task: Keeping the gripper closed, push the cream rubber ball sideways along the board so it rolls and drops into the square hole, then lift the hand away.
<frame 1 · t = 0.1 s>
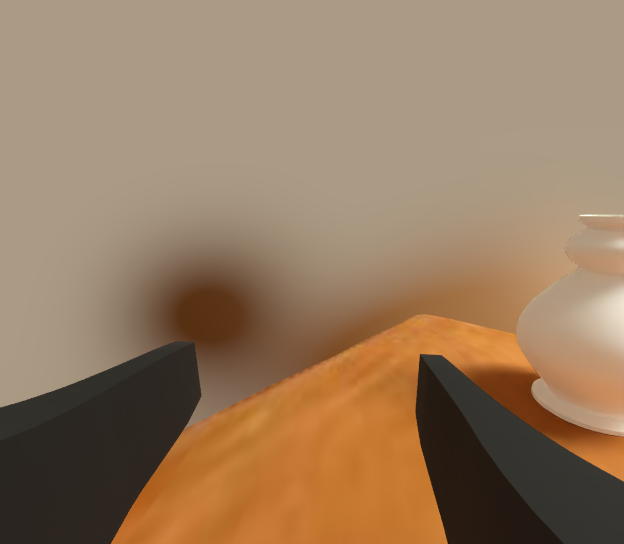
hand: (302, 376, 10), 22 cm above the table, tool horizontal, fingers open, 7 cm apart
decorative vase: (586, 405, 44), on the table
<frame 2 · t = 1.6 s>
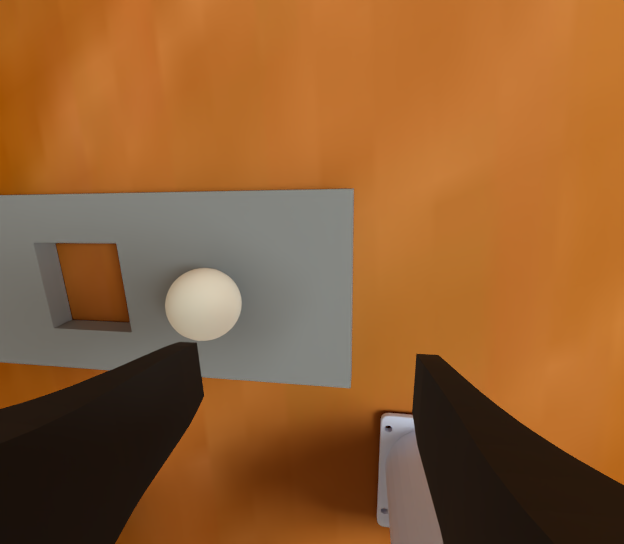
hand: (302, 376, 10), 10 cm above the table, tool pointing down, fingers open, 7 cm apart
board: (159, 283, 22), on the table
ball: (204, 304, 18), point 3 cm above the table, touching board
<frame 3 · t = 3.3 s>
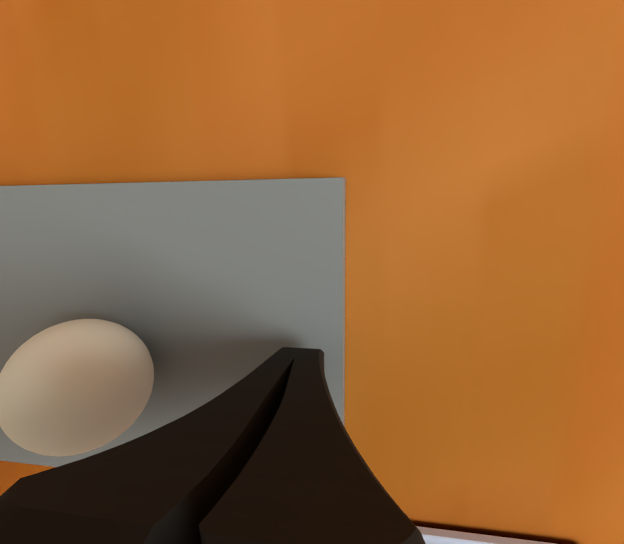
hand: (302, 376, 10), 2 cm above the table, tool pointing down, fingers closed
board: (46, 327, 14), on the table
ball: (83, 383, 10), point 3 cm above the table, touching board
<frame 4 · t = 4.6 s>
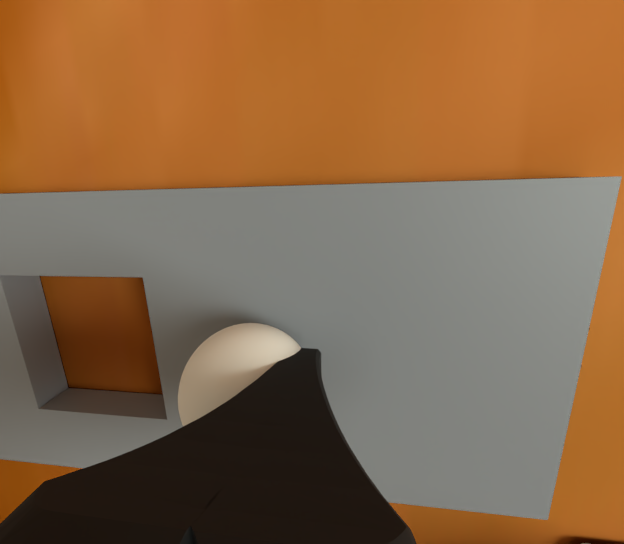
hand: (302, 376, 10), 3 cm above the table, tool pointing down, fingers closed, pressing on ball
board: (210, 336, 14), on the table
ball: (249, 389, 10), point 3 cm above the table, tilted 63°, touching board, gripper
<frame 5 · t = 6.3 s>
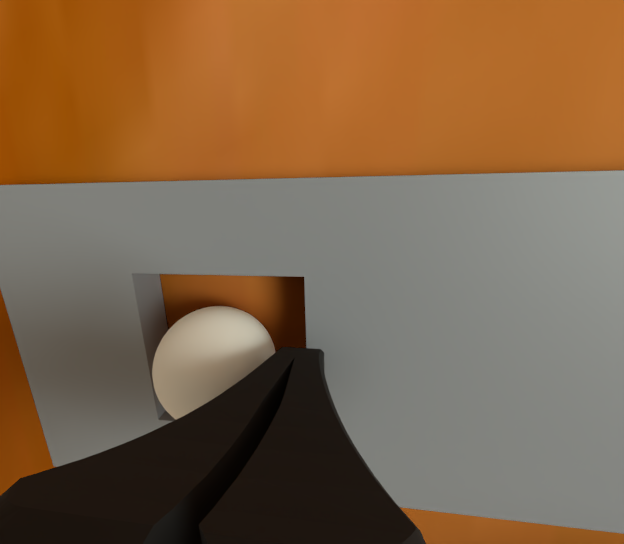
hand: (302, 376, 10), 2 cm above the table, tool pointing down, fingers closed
board: (352, 342, 12), on the table
ball: (217, 364, 11), point 2 cm above the table, tilted 94°
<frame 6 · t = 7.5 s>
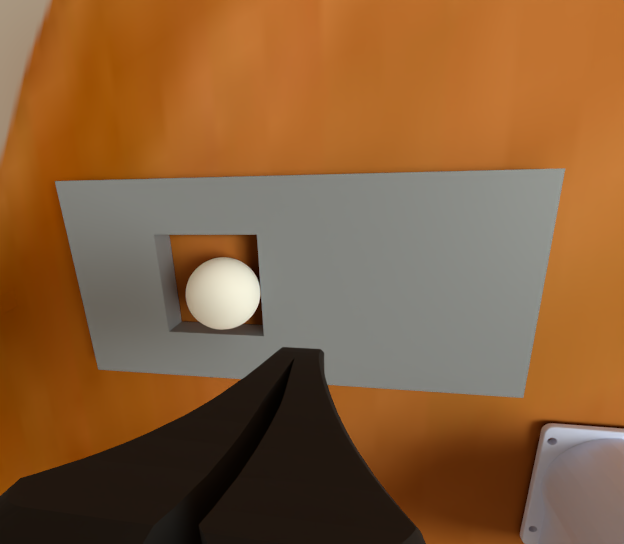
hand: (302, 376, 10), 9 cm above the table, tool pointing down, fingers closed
board: (292, 280, 19), on the table
ball: (224, 293, 18), point 2 cm above the table, tilted 124°
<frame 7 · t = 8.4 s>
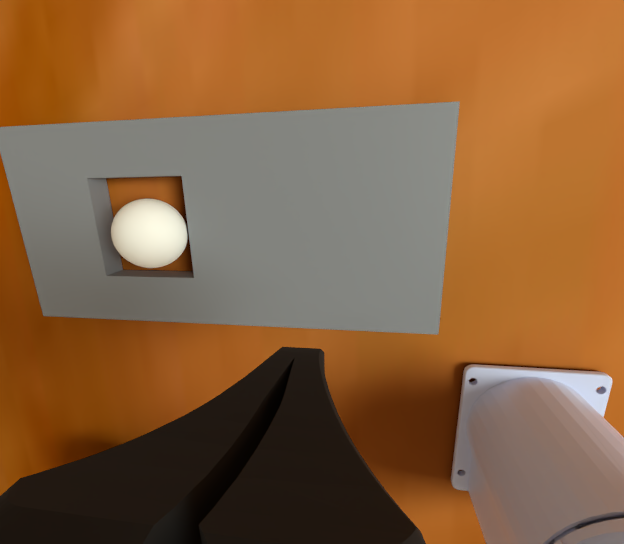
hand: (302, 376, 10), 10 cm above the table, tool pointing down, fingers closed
board: (222, 225, 20), on the table
ball: (151, 233, 19), point 2 cm above the table, tilted 121°
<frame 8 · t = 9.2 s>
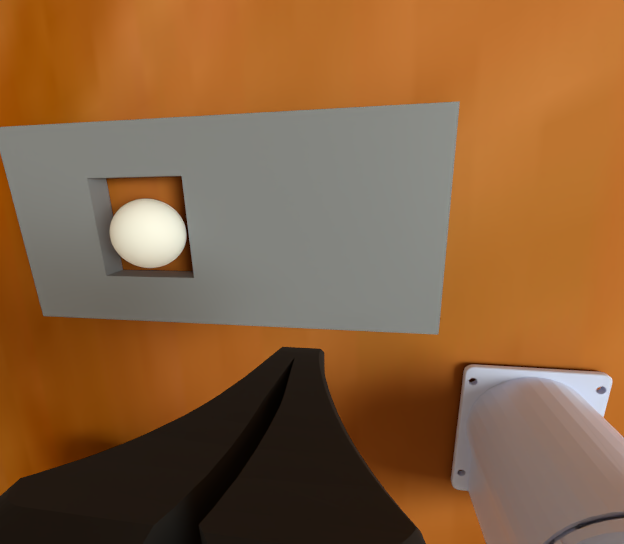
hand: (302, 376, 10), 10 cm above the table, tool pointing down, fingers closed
board: (222, 225, 20), on the table
ball: (149, 233, 19), point 2 cm above the table, tilted 119°
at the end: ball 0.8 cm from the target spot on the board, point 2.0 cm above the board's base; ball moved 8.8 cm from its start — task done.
